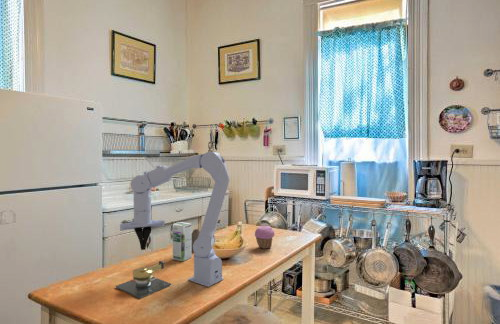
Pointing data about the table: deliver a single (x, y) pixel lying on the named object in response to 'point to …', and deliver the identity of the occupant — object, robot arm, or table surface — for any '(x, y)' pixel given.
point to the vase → (195, 236)
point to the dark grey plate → (143, 286)
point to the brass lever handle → (147, 271)
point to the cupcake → (264, 236)
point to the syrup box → (182, 241)
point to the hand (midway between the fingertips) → (143, 249)
